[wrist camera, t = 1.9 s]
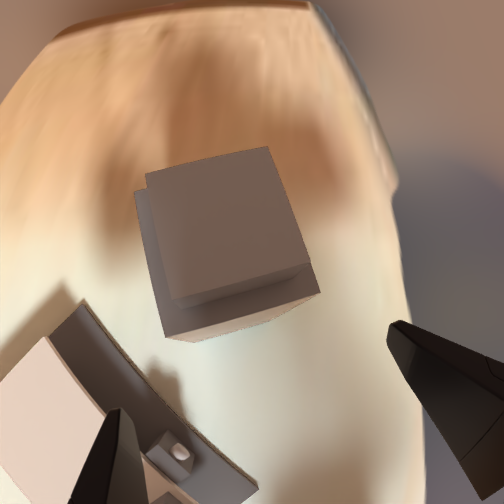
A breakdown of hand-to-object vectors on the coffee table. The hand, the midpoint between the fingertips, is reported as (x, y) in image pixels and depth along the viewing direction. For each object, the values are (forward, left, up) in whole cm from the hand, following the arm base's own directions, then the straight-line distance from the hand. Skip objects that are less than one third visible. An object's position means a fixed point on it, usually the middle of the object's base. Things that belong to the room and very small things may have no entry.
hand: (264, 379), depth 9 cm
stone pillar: (+3, +3, -11) cm, 12 cm away
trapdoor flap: (-12, +5, -8) cm, 15 cm away
